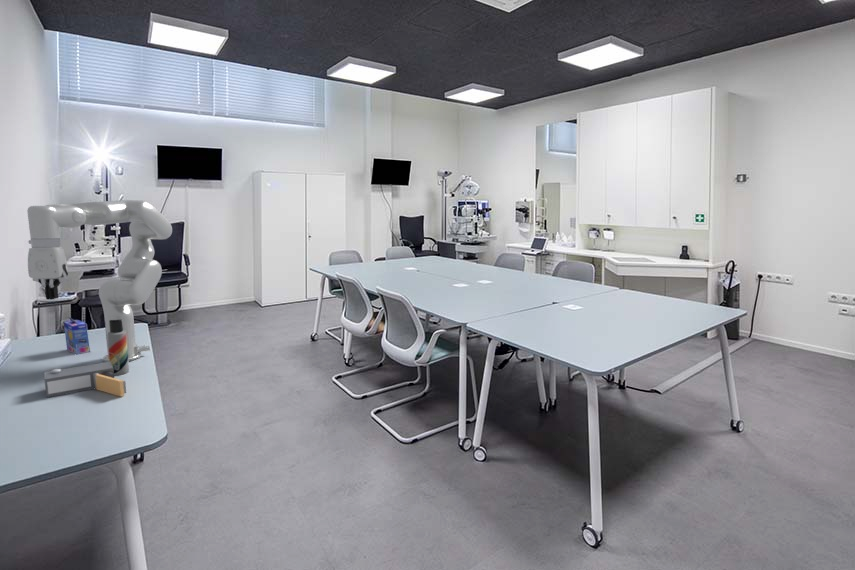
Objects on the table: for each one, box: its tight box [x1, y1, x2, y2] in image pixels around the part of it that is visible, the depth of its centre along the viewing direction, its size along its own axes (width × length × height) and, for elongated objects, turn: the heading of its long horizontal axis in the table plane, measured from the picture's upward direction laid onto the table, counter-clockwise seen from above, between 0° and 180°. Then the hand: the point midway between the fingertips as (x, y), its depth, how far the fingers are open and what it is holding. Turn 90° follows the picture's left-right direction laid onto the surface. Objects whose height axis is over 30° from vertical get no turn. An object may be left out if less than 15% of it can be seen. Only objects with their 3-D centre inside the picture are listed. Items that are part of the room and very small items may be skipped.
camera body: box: [43, 362, 115, 398], centre depth 155 cm, size 18×9×7 cm, turn 130°
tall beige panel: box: [93, 373, 127, 397], centre depth 152 cm, size 14×2×5 cm, turn 66°
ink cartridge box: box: [63, 316, 91, 355], centre depth 192 cm, size 10×6×14 cm, turn 54°
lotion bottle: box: [107, 319, 130, 376], centre depth 168 cm, size 6×6×20 cm
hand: (52, 298), depth 156 cm, fingers closed
